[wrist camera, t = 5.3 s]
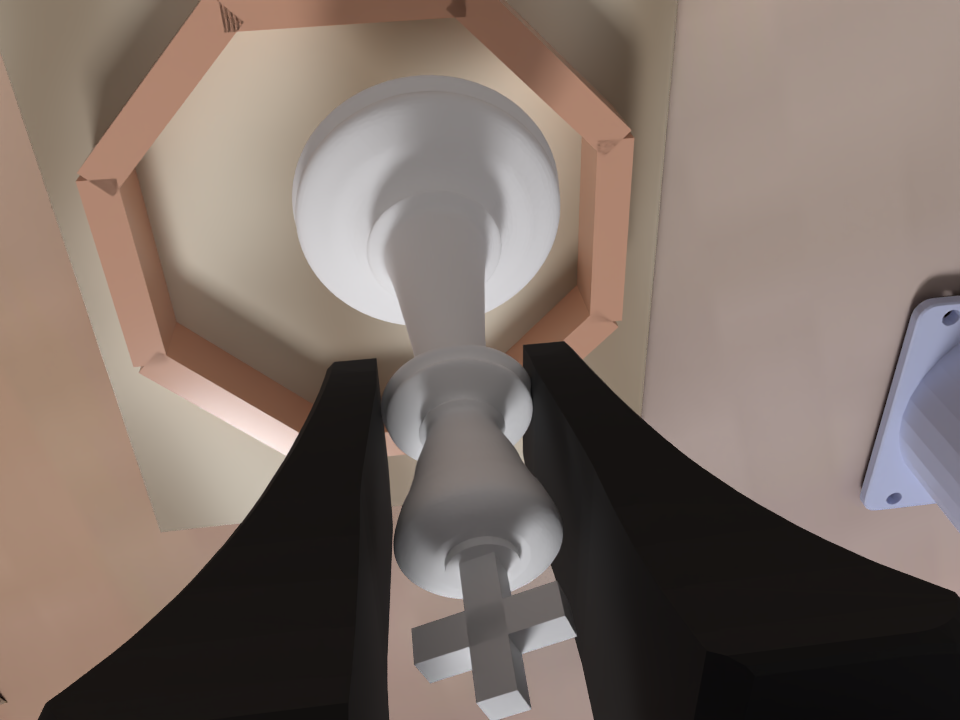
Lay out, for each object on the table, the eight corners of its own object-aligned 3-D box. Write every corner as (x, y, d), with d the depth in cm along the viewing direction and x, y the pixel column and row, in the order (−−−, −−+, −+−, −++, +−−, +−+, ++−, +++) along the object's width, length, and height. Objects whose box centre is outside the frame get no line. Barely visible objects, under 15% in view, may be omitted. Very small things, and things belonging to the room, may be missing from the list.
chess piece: (589, 255, 18) (778, 737, 10) (364, 341, 18) (383, 853, 11) (506, 27, 15) (690, 477, 7) (240, 141, 15) (141, 663, 8)
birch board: (683, -244, 17) (699, -244, 16) (626, 457, 27) (635, 479, 27) (-65, -213, 16) (-88, -211, 15) (166, 507, 26) (160, 532, 25)
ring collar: (626, -53, 18) (646, -40, 17) (600, 398, 25) (614, 432, 23) (42, -18, 17) (18, -1, 16) (177, 442, 24) (168, 479, 23)
